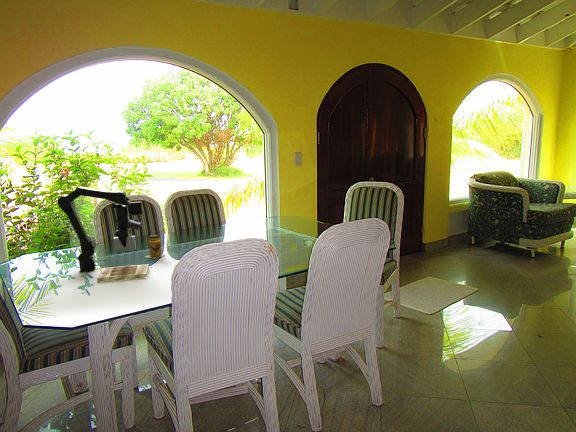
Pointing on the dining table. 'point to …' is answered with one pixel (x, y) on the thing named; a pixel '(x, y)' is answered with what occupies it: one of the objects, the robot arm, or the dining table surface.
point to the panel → (129, 244)
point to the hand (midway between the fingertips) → (125, 246)
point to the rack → (123, 272)
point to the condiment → (154, 247)
